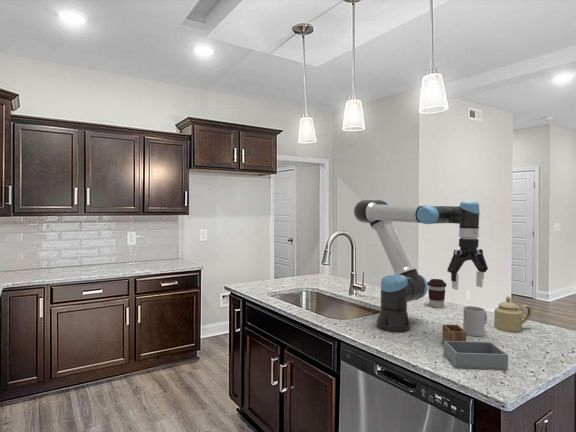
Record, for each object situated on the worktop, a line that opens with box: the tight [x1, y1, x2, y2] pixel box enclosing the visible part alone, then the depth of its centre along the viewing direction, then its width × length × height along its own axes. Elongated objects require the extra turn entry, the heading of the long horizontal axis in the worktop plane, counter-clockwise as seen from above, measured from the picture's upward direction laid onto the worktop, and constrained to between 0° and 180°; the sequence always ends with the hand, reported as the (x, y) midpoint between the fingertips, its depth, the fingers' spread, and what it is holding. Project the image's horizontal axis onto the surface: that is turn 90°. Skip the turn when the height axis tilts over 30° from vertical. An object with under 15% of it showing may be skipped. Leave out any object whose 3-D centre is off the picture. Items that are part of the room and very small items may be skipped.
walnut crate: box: [441, 324, 467, 345], centre depth 152 cm, size 6×9×8 cm, turn 176°
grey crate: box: [443, 340, 509, 370], centre depth 138 cm, size 17×12×5 cm
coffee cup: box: [427, 278, 447, 309], centre depth 214 cm, size 10×10×15 cm
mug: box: [462, 305, 488, 337], centre depth 169 cm, size 12×8×11 cm
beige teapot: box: [493, 295, 532, 333], centre depth 176 cm, size 15×11×15 cm
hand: (467, 287), depth 163 cm, fingers open, 13 cm apart
